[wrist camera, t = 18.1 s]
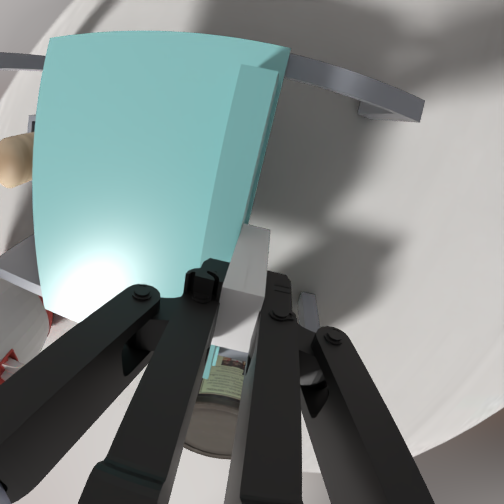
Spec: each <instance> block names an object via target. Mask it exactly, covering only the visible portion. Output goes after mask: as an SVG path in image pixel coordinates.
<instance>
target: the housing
mask: <svg viewBox="0 0 504 504" xmlns="http://www.w3.org/2000/svg"><path fill="white" fill-rule="evenodd" d="M45 58H46V56H41V55H31V54H19V53H4V52H0V70H30V71H43V67H44V62H45ZM284 78H285V79H289V80H293V81H297V82H301V83H304V84H308V85H312V86H315V87H319V88H322V89H326V90H329V91H332V92H336V93H339V94H342V95H345V96H348V97H351V98H354V99H357V100H360V105H359V109H358V113H357V114H358V115H361V116H363V117H366V118H369V119H372V120H392V121H407V122H420V119H421V115H422V111H423V107H424V103H425V100H423V99H421V98H418V97H416V96H414V95H412V94H410V93H407V92H405V91H403V90H400V89H398V88H396V87H393V86H391V85H388V84H386V83H383V82H381V81H378V80H376V79H373V78H370V77H368V76H365V75H362V74H359V73H356V72H353V71H350V70H347V69H344V68H341V67H338V66H335V65H332V64H328V63H325V62H322V61H318V60H314V59H311V58H307V57H303V56H299V55H295V54H291V53H290V55H289V59H288V63H287V67H286V71H285V75H284ZM35 121H36V115H29V122H28V133H31V132H34V131H35ZM29 182H32V180H31V181H29ZM0 278H2V279H4V280H7V281H9V282H11V283H13V284H15V285H17V286H19V287H21V288H24V289H26V290H28V291H30V292H33V293H35V294H37V295H39V296H42V291H41V285H40V279H39V272H38V264H37V256H36V247H35V236H34V234H33V235H31V236H29V237H28V238H26V239H25V240H23V241H22V242H20V243H19V244H17V245H16V246H14V247H13V248H11V249H10V250H8V251H7V252H5V253H4V254H2V255H1V256H0ZM298 315H299V325H301V326H302V327H304V328H306V329H308V330H310V331H313V332H315V333H316V332H317V330H318V329H319V328H320V324H319V318H318V311H317V305H316V298H315V295H314V294H309V293H305V292H302V293H301V295H300V298H299V301H298ZM248 354H249V351H248V353H246V352H241V351H237V350H232V349H228V348H224V347H220V348H219V353H218V355H219V356H224V357H228V358H232V359H236V360H241V361H245V362H246V360H247V357H248Z"/></svg>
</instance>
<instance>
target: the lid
mask: <svg viewBox="0 0 504 504" xmlns="http://www.w3.org/2000/svg"><path fill="white" fill-rule="evenodd" d="M290 51H291V48H288V47H283V46H279V45H274V44H269V43H264V42H258V41H253V40H247V39H241V38H234V37H227V36H219V35H211V34H201V33H189V32H172V31H113V32H97V33H86V34H76V35H68V36H61V37H54V38H50V41H49V45H48V49H47V53H46V58H45V62H44V67H43V72H42V78H41V84H40V90H39V96H38V104H37V111H36V121H35V131H34V145H33V168H32V199H33V222H34V236H35V247H36V256H37V264H38V272H39V279H40V285H41V291H42V297H43V303H44V308H45V309H47V310H49V311H51V312H54V313H56V314H58V315H61V316H63V317H65V318H68V319H70V320H73V321H75V322H78V323H80V322H81V321H82V320H84V319H85V318H86V317H88V316H89V315H90V314H92V313H93V312H94V311H96V310H97V309H98V308H100V307H101V306H103V305H104V304H105V303H107V302H108V301H109V300H111V299H112V298H113V297H115V296H116V295H118V294H119V293H120V292H122V291H123V290H125V289H126V288H127V287H129V286H132V285H135V284H147V285H150V286H153V287H154V288H156V289H157V290H158V291H159V292H160V297H163V298H176V297H181V296H182V294H183V291H184V283H185V275H186V273H187V272H188V271H189V270H191V269H194V268H201V266H202V264H203V262H204V261H206V260H207V259H209V258H213V259H217V260H221V261H225V262H231V259H232V256H233V253H234V250H235V247H236V244H237V241H238V238H239V236H240V233H241V230H242V227H243V224H248V223H249V219H250V215H251V211H252V206H253V202H254V198H255V194H256V190H257V185H258V181H259V177H260V173H261V169H262V165H263V161H264V156H265V152H266V148H267V144H268V140H269V136H270V132H271V128H272V124H273V120H274V115H275V111H276V107H277V103H278V99H279V95H280V91H281V87H282V83H283V79H284V75H285V71H286V67H287V63H288V59H289V55H290ZM219 348H220V346H215V345H211V346H210V351H209V356H208V359H207V363H206V366H205V370H204V373H203V377H202V378H204V379H208V378H209V374H210V370H211V367H212V366H215V365H216V361H217V357H218V353H219Z"/></svg>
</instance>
